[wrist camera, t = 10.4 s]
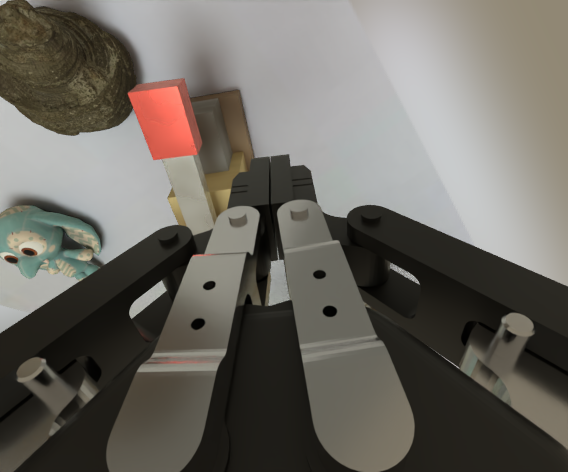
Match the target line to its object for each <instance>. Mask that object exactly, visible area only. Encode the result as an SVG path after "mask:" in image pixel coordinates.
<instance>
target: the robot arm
mask: <svg viewBox="0 0 568 472" xmlns="http://www.w3.org/2000/svg"><path fill="white" fill-rule="evenodd" d="M231 187H232V188H231V191H230V197H229V202H228V207H227V210H225V211H224V212H222V213H221V214H220V215H219V216H218V217H217V219H216V222H215V225H214V228H213V229H211V230H208V231H206V232H203V233H199V234H196V235H193V234H192V231H191V230H190V229H189V228H188V227H186V226H183V225H173V226H168V227H165V228H162V229H160V230H158V231H156V232H154V233H153V234H151V235H150V236H148V237H147V238H145V239H144V240H142V241H141V242H139V243H138V244H136V245H135V246H133V247H132V248H130V249H128V250H127V251H125V252H124V253H122V254H121V255H119V256H118V257H116V258H115V259H113V260H112V261H110V262H109V263H107V264H106V265H104V266H102V267H101V268H99V269H98V270H96V271H95V272H93V273H92V274H90V275H89V276H87V277H86V278H84V279H83V280H81V281H80V282H78V283H76V284H75V285H73V286H72V287H70V288H69V289H67V290H66V291H64V292H63V293H61V294H60V295H58V296H57V297H55V298H54V299H52V300H50V301H49V302H47V303H46V304H44V305H43V306H41V307H40V308H38V309H37V310H35V311H34V312H32V313H31V314H29V315H28V316H26V317H25V318H23V319H21V320H20V321H18V322H17V323H15V324H14V325H12V326H11V327H9V328H8V329H6V330H5V331H3V332H2V333H0V472H568V286H565V285H563V284H560V283H558V282H556V281H554V280H551V279H549V278H547V277H544V276H542V275H540V274H537V273H535V272H533V271H530V270H528V269H526V268H524V267H521V266H519V265H517V264H514V263H512V262H510V261H507V260H505V259H503V258H500V257H498V256H496V255H493V254H491V253H489V252H486V251H484V250H482V249H479V248H477V247H475V246H473V245H470V244H468V243H466V242H463V241H461V240H459V239H456V238H454V237H452V236H449V235H447V234H445V233H442V232H440V231H438V230H435V229H433V228H431V227H428V226H426V225H424V224H421V223H419V222H417V221H414V220H412V219H410V218H408V217H405V216H403V215H401V214H398V213H396V212H394V211H391V210H389V209H387V208H384V207H381V206H376V205H364V206H359V207H357V208H354V209H353V210H351V211H350V212H349V213H348V215H347V218H341V217H334V216H330V215H327V214H325V213H324V212H322V210H321V207H320V206H319V205H318V204H317V199H316V194H315V190H314V185H313V180H312V176H311V171H310V170H309V169H308V168H307V167H305V166H304V165H301V166H292V167H290V158H289V154H288V155H279V156H271V162H270V157H262V158H253V159H251V163H250V171H248V172H239V173H238V174H237V175H236V176H235V178H234V179H233V181H232V186H231ZM277 246H278V253H279V259H280V260H284V265H285V272H286V279H287V285H288V292H289V298H290V300H288V301H285V302H282V303H279V304H275V305H272V306H268V303H269V293H270V283H271V275H270V269H271V261H275V260H278V253H277ZM390 263H393V264H394V265H396V266H398V267H400V268H402V269H404V270H405V271H407V272H409V273H411V274H412V275H413V276H415V277H416V278H417V280H418V281H419V283H420V285H419V284H417V283H415V282H413V281H412V280H410V279H408V278H406V277H404V276H403V275H401V274H399V273H397V272H396V271H394V270H392V269H390ZM161 280H162V281H163V284H164V286H165V288H166V290H167V291H166V292H165V293H163V294H162V295H161V296H160V297H158V298H157V299H156V300H155V301H153V302H152V303H151V304H150V305H149V306H147V307H146V308H145V309H144V310H142V311H141V312H140V313H139V314H137V315H136V316H135V317H134V318H132V319H131V318H130V316H129V310H130V307H131V305H132V304H133V302H134V301H135V300H136V299H138V298H139V297H140V296H142V295H143V294H144V293H146V292H147V291H148V290H149V289H151V288H152V287H153V286H155V285H156V284H157V283H158V282H160V281H161ZM363 302H365V303H366V304H367V305H369V306H370V307H372V308H373V309H375V310H376V311H375V310H373V309H371V308H368V307H365V305H364V303H363ZM428 346H429V347H428ZM431 348H432V349H433V350H432V349H431ZM434 350H435V351H436V352H435V351H434ZM437 352H438V353H439V354H440V355H439V354H438V353H437ZM441 355H442V356H443V357H445V358H446V359H448V360H449V361H451V362H452V363H454V364H455V365H456V366H458V367H459V368H460V369H459V368H457V367H456V366H454V365H453V364H452V363H450V362H449V361H448V360H446V359H445V358H443V357H442V356H441Z"/></svg>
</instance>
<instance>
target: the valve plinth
mask: <svg viewBox="0 0 568 472" xmlns="http://www.w3.org/2000/svg"><path fill="white" fill-rule="evenodd" d="M190 101H191V104H192V108H193V111H194V115H195V118H196V122H197V126H198V129H199V133H200V136H201V140H202V145H201V148H200V150H199V152H198V155H199V159H200V162H201V165H202V169H203V172H204V175H205V179H206V182H207V186H208V189H209V192H210V196H211V199H212V203H213V206H214V209H215V213H216V216H217V217H218V216H219V215H220V214H221V213H222V212H224V211H225V210H227V207H228V202H229V197H230V191H231V188H232V187H231V186H232V181H233V179H234V178H235V176H236V175H237V174H238V173H239V172H248V171H250V163H251V159H253V158H254V154H253V149H252V145H251V140H250V136H249V131H248V127H247V122H246V118H245V114H244V109H243V105H242V100H241V96H240V91H239V90H235V91H230V92H224V93H218V94H212V95H206V96H200V97H194V98H190ZM168 201H169V203H170V205H171V208H172V210H173V212H174V215H175V217H176V219H177V222H178V224H179V225H183V226H186V227H187V225H186V223H185V220H184V217H183V215H182V212H181V209H180V207H179V204H178V201H177V199H176V196H175V193H174V190H173V188H172V189H171V192H170V194H169V196H168Z"/></svg>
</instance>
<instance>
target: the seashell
mask: <svg viewBox="0 0 568 472" xmlns="http://www.w3.org/2000/svg"><path fill="white" fill-rule="evenodd" d="M135 86H136V76H135V74H134V70H133V62H132V60H131V57H130V55H129V53H128V51H127V50H126V48H125V46H124V45H123V44H122V43H121V42H120V41H119V40H118V39H117V38H115V37H114V36H113V35H111V34H109V33H107V32H105V31H103V30H102V29H100V28H99V27H98V26H97V25H96V24H94V23H93V22H91V21H90V20H88V19H86V18H85V17H83V16H80V15H78V14H76V13H74V12H73V13H72V12H62V11H58V10H55V9H51V8H47V7H44V6H43V7H36V8H33V7H32V6H31V5H30V4H29V3H28V2H27V1H26V0H12V1H7V2H6V3H5V4H3V5H1V6H0V96H1V97H2V98H4V99H5V100H6V101H8V102H9V103H11V104H13V105H14V106H15V107H16V108H17V109H18V110H19V111H20V112H21V113H22V114H23V115H25V116H26V117H27V118H29V119H30V120H31V121H32V122H34V123H36V124H38V125H41V126H43V127H44V128H46V129H49V130H51V131H54V132H56V133H58V134H63V135H71V136H75V135H78V134H79V133H80V132H94V131H101V130H106V129H110V128H112V127H115V126H118V125H120V124H121V123H122V122H123V121H124V120H126V118H127V117H128V116H129V114H130V112H131V111H132V109H133V106H132V103H131V101H130V98H129V96H128V92H129V91H131V90H132V89H133V88H134V87H135Z"/></svg>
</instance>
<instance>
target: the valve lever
mask: <svg viewBox="0 0 568 472" xmlns="http://www.w3.org/2000/svg"><path fill="white" fill-rule="evenodd" d="M128 96H129V98H130V101H131V103H132V106H133V108H134V111H135V114H136V116H137V119H138V121H139V124H140V126H141V129H142V132H143V134H144V137H145V139H146V142H147V144H148V147H149V150H150V152H151V155H152V157H153V160H158V159H162V161H163V164H164V166H165V169H166V172H167V174H168V177H169V180H170V182H171V185H172V188H173V190H174V193H175V196H176V199H177V201H178V204H179V207H180V209H181V212H182V215H183V217H184V220H185V223H186V225H187V227H188V228H189V229H190V230H191V231H192V234H193V235H196V234H199V233H203V232H206V231H208V230H211V229H213V228H214V225H215V222H216V219H217V216H216V213H215V209H214V206H213V203H212V199H211V196H210V192H209V189H208V186H207V182H206V179H205V175H204V172H203V169H202V165H201V162H200V159H199V155H198V152H199V150H200V148H201V145H202V140H201V136H200V133H199V129H198V126H197V122H196V118H195V115H194V111H193V108H192V104H191V101H190V97H189V94H188V90H187V86H186V83H185V79H184V78H182V79H175V80H167V81H160V82H153V83H145V84H138V85H137V86H135V87H134V88H133V89H132V90H131V91H129V92H128Z"/></svg>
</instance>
